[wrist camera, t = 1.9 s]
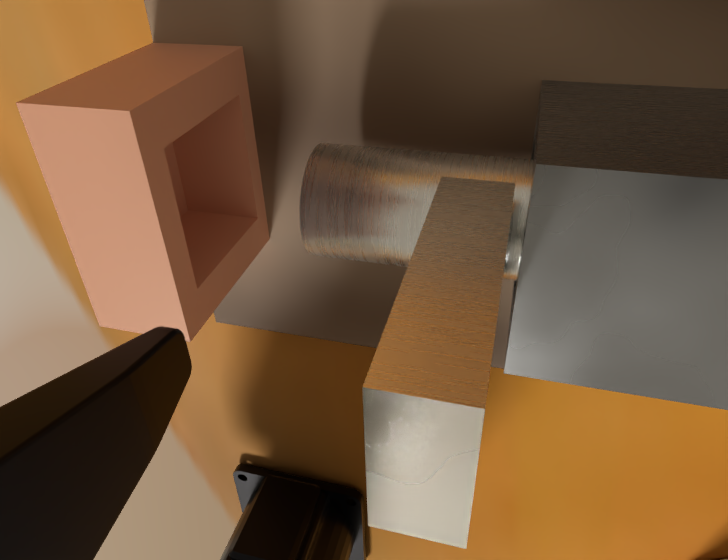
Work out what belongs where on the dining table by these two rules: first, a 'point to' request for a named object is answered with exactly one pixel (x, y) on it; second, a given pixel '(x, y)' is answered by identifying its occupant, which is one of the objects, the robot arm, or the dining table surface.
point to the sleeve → (626, 243)
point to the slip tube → (423, 312)
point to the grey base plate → (414, 110)
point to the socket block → (154, 181)
